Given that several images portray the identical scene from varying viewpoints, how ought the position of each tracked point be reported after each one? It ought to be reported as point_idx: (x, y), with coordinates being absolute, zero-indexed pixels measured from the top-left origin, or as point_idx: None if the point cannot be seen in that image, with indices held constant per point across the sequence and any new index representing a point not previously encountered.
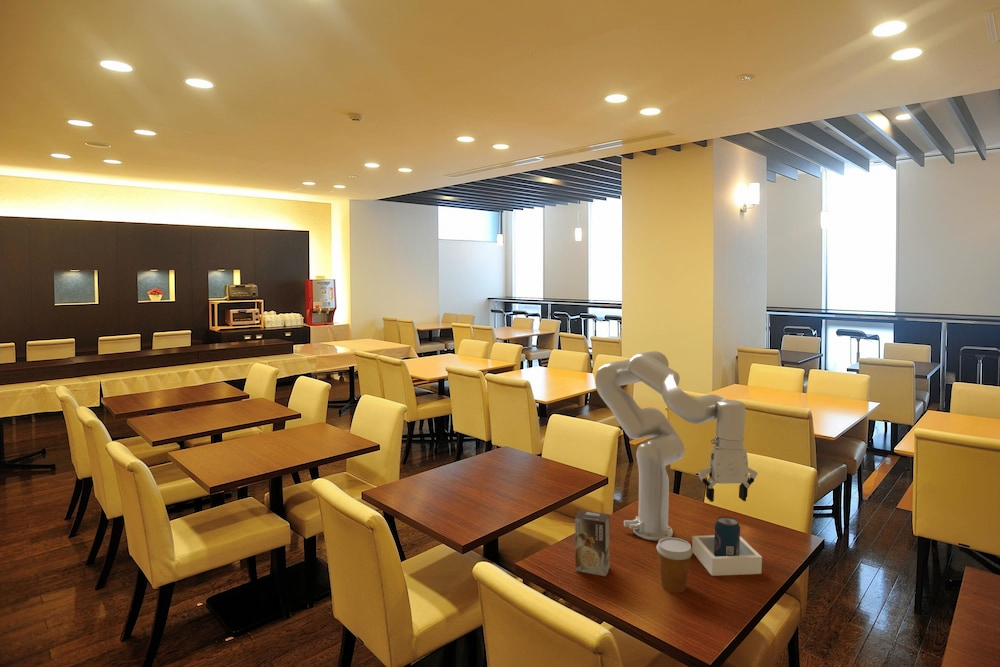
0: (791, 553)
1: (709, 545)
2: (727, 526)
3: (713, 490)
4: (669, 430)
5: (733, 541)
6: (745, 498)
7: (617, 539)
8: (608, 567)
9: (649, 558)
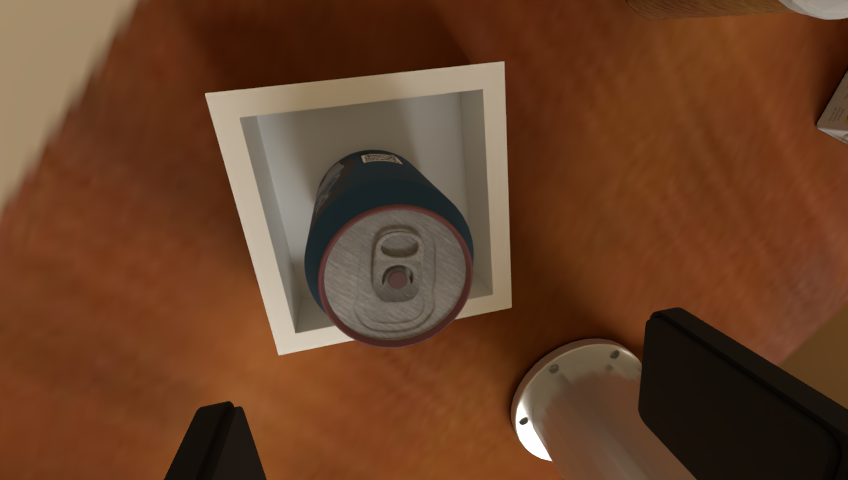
0: (21, 313)
1: None
2: (421, 203)
3: (825, 417)
4: None
5: (367, 167)
6: (197, 433)
7: None
8: (845, 96)
9: (659, 204)
